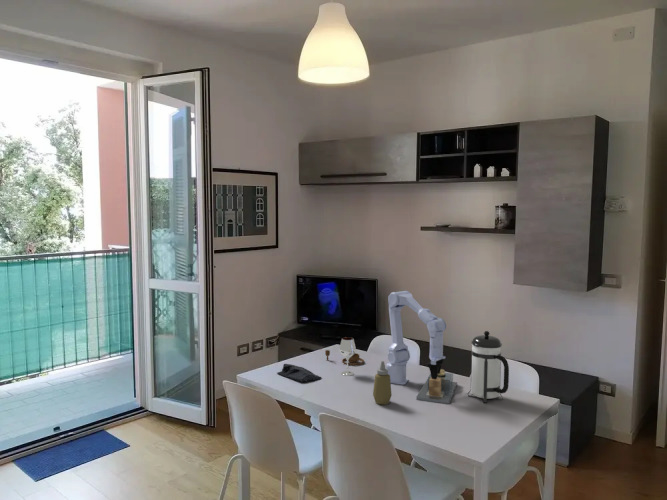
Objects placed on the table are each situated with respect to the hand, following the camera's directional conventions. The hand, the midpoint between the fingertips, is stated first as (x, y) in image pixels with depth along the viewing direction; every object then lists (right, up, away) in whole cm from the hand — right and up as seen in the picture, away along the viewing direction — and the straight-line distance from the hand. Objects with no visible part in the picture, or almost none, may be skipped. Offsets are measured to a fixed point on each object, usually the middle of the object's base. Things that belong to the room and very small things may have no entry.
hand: (435, 376), depth 222 cm
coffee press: (+23, -10, -2) cm, 25 cm away
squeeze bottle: (-24, -10, -7) cm, 27 cm away
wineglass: (-38, -7, +32) cm, 50 cm away
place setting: (-38, -6, +53) cm, 66 cm away
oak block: (0, -8, +1) cm, 8 cm away
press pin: (+5, -4, +13) cm, 15 cm away
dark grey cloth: (-63, -8, +28) cm, 69 cm away
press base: (+2, -9, +6) cm, 11 cm away
